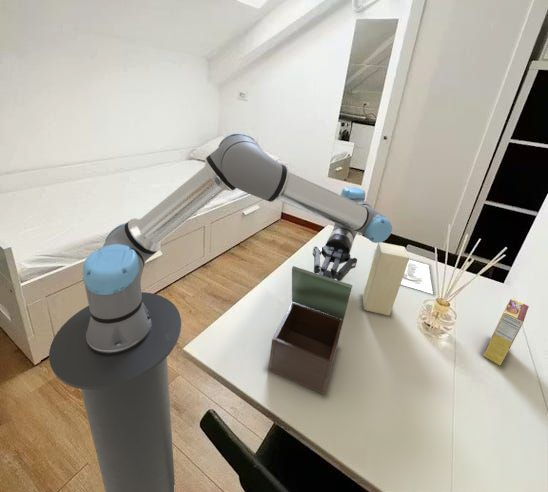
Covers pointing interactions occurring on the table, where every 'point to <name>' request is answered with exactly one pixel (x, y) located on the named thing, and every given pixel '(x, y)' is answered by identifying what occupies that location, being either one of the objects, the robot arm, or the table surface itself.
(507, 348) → the candy box
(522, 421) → the table surface
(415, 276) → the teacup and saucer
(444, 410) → the table surface
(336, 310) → the chest lid
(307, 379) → the chest
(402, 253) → the toy refrigerator
